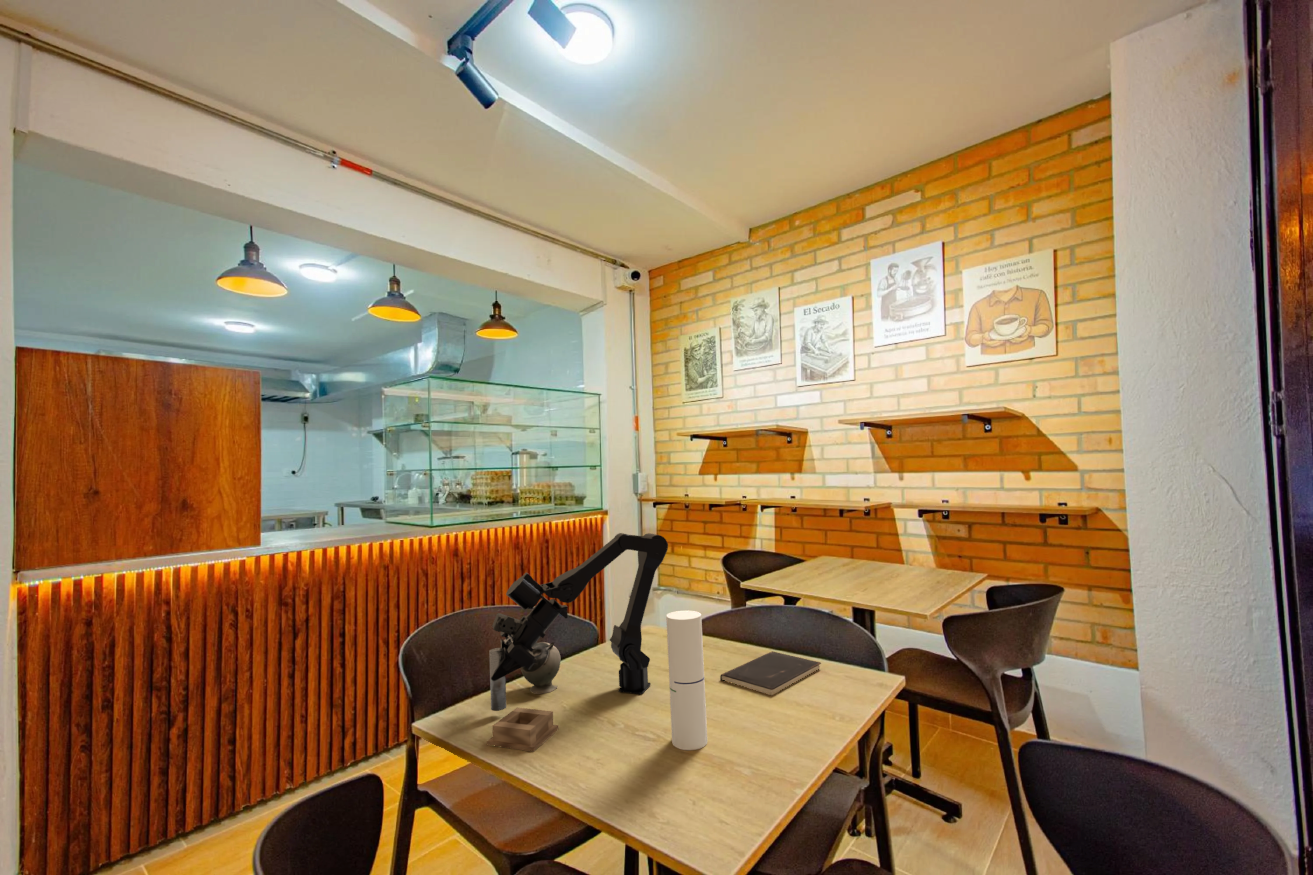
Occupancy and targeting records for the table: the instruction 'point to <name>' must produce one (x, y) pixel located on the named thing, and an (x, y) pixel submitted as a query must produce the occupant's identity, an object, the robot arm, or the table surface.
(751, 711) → the table surface
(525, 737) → the socket board
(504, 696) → the steel pin
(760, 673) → the hardcover book
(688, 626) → the cylindrical container
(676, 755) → the table surface
